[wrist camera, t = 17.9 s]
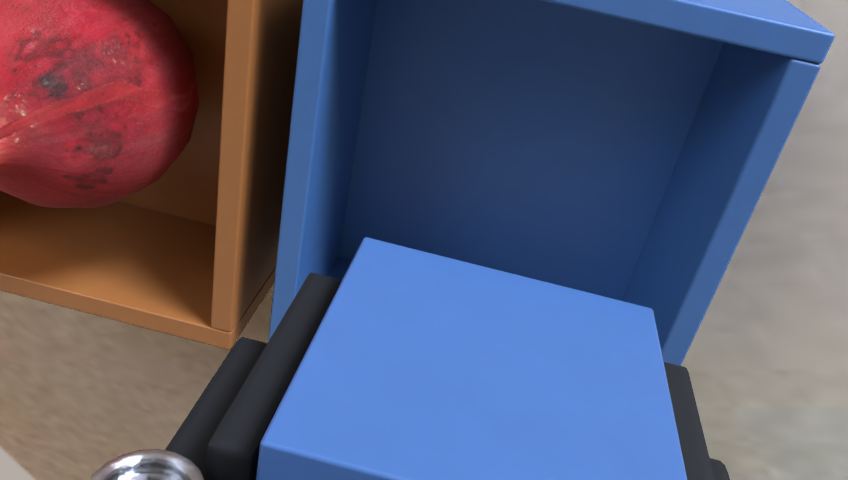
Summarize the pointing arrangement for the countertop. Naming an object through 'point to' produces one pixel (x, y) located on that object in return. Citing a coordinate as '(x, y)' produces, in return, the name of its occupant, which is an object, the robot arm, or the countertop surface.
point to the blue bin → (543, 139)
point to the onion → (91, 99)
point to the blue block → (473, 381)
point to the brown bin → (182, 195)
